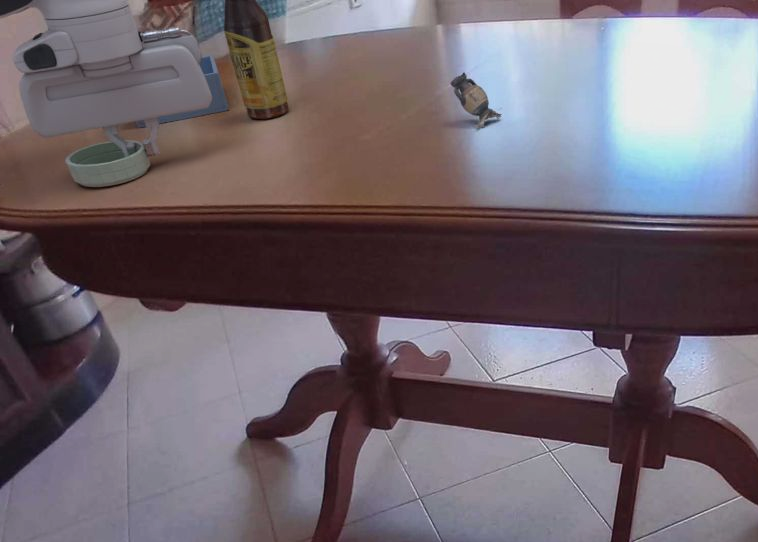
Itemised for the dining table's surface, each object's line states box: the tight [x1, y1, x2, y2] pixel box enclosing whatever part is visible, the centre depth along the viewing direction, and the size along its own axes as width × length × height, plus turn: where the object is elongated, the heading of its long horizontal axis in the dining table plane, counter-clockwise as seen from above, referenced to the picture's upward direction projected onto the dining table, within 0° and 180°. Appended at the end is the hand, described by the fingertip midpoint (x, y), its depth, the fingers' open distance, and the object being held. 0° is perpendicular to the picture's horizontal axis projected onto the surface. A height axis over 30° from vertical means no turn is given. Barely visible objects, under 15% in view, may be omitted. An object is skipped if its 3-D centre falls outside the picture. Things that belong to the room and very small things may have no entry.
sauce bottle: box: [223, 0, 290, 120], centre depth 97 cm, size 6×6×20 cm
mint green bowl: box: [64, 139, 151, 188], centre depth 87 cm, size 9×9×3 cm
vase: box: [450, 72, 503, 132], centre depth 90 cm, size 5×5×6 cm
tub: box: [135, 54, 230, 129], centre depth 108 cm, size 13×13×6 cm
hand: (143, 156), depth 88 cm, fingers closed on mint green bowl
